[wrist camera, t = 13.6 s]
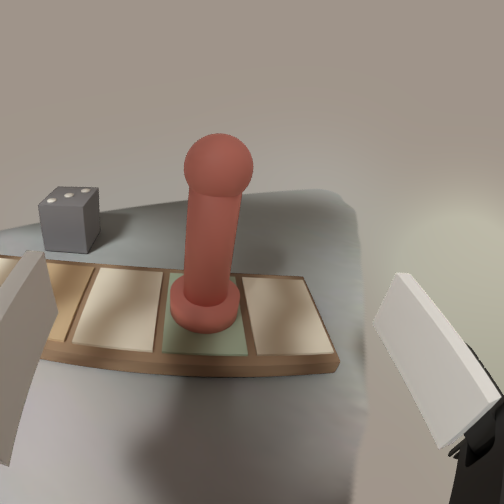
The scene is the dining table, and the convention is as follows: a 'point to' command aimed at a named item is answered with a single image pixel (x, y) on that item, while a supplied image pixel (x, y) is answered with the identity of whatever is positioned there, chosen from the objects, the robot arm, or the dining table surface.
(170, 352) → the board
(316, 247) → the dining table surface
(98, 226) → the die
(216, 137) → the pawn
